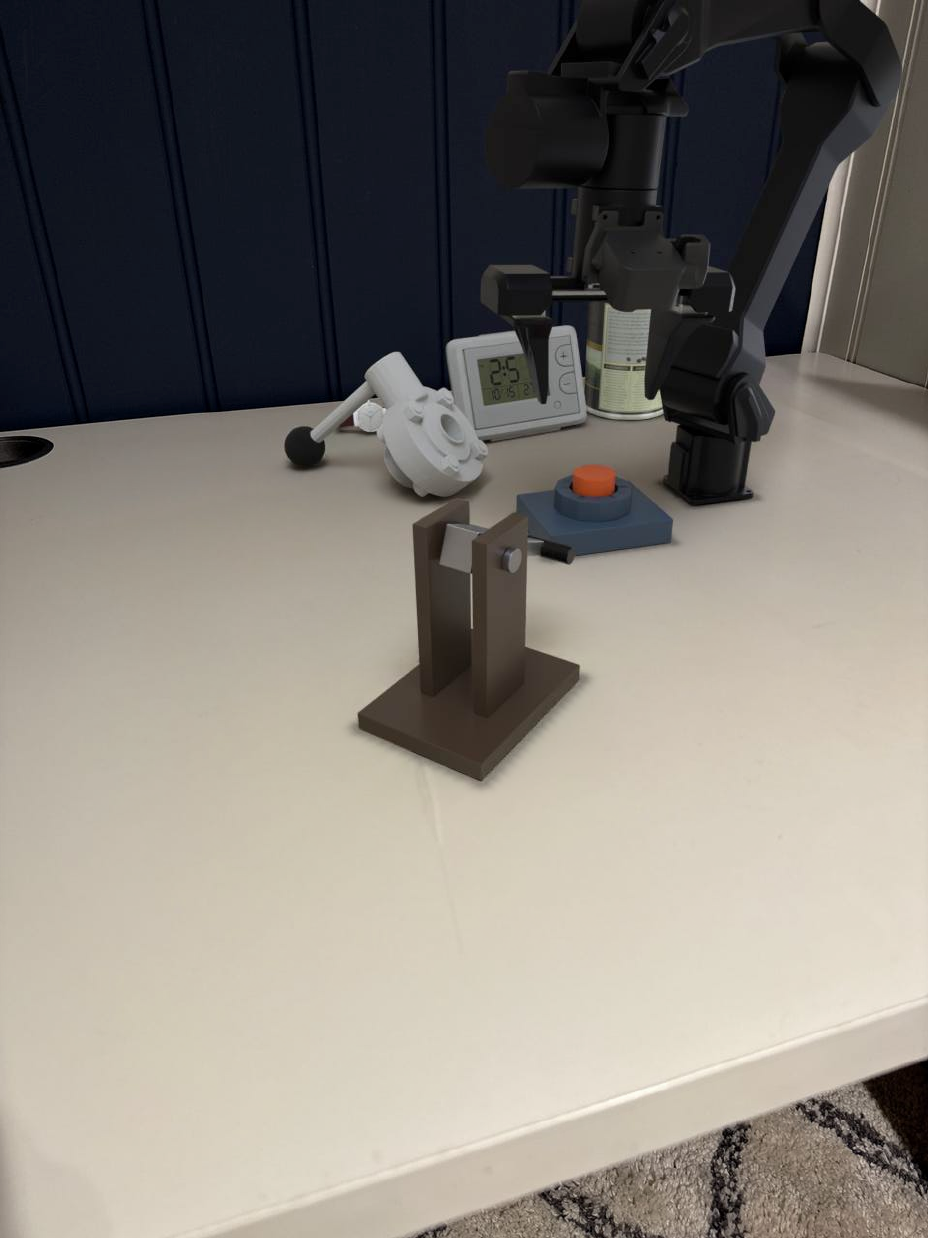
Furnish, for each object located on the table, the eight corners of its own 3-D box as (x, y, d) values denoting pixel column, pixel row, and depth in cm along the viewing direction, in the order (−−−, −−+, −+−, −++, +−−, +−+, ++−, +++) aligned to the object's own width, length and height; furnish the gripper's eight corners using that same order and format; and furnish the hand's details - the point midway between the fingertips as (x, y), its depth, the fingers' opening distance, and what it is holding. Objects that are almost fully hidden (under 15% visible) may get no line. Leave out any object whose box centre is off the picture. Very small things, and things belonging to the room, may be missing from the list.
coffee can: (564, 407, 109) (569, 285, 102) (618, 389, 115) (627, 273, 108) (632, 426, 102) (642, 298, 95) (685, 407, 108) (699, 284, 101)
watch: (338, 437, 101) (335, 405, 99) (333, 424, 105) (331, 393, 103) (406, 431, 102) (404, 399, 100) (398, 418, 106) (397, 388, 104)
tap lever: (505, 555, 61) (513, 520, 60) (571, 573, 58) (579, 537, 58) (418, 558, 52) (426, 517, 51) (491, 580, 49) (500, 538, 49)
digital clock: (456, 448, 97) (454, 349, 92) (439, 422, 105) (436, 329, 99) (597, 435, 100) (604, 338, 95) (571, 411, 108) (575, 319, 102)
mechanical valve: (457, 488, 80) (361, 346, 79) (336, 576, 91) (249, 452, 89) (505, 459, 88) (419, 330, 87) (389, 543, 99) (310, 429, 98)
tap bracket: (466, 640, 64) (463, 470, 57) (579, 679, 59) (590, 500, 53) (358, 728, 55) (340, 540, 49) (481, 781, 51) (479, 583, 44)
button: (604, 481, 79) (605, 462, 78) (621, 496, 76) (622, 477, 75) (566, 485, 78) (567, 467, 78) (581, 501, 75) (582, 482, 75)
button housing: (627, 502, 84) (630, 461, 82) (670, 542, 77) (675, 499, 75) (515, 516, 82) (516, 475, 80) (549, 559, 74) (551, 515, 72)
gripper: (526, 194, 56) (512, 436, 64) (792, 197, 60) (750, 425, 68) (482, 182, 66) (475, 394, 73) (715, 186, 70) (685, 387, 77)
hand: (596, 400), depth 73 cm, fingers open, 9 cm apart
